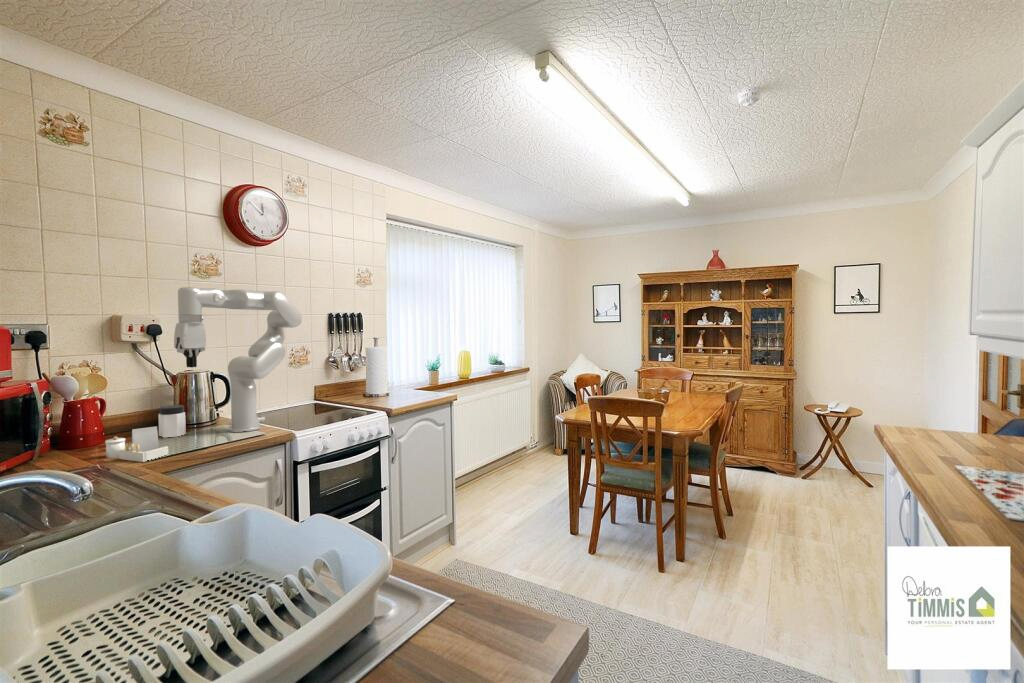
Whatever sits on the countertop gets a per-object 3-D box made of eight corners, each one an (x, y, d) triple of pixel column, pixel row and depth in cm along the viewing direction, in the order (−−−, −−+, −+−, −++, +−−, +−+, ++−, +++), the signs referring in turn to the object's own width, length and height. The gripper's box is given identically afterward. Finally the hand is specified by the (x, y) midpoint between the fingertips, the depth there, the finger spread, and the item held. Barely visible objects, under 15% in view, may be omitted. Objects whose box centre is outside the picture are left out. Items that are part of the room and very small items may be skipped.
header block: (145, 452, 167) (145, 437, 167) (168, 455, 164) (168, 439, 164) (119, 459, 159) (118, 443, 159) (143, 462, 156) (142, 445, 155)
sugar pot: (118, 453, 166) (118, 434, 166) (129, 454, 165) (129, 435, 164) (101, 457, 161) (101, 437, 161) (112, 458, 159) (112, 438, 159)
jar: (171, 433, 196) (170, 404, 195) (190, 433, 195) (189, 404, 195) (153, 438, 187) (153, 408, 186) (173, 438, 187) (172, 408, 186)
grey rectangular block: (158, 455, 163) (157, 427, 163) (133, 459, 158) (133, 430, 158) (156, 453, 166) (155, 425, 165) (132, 457, 161) (131, 428, 160)
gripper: (200, 319, 189) (201, 365, 190) (163, 319, 175) (165, 368, 175) (215, 319, 187) (216, 365, 188) (179, 319, 173) (180, 369, 173)
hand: (191, 367), depth 182 cm, fingers closed
